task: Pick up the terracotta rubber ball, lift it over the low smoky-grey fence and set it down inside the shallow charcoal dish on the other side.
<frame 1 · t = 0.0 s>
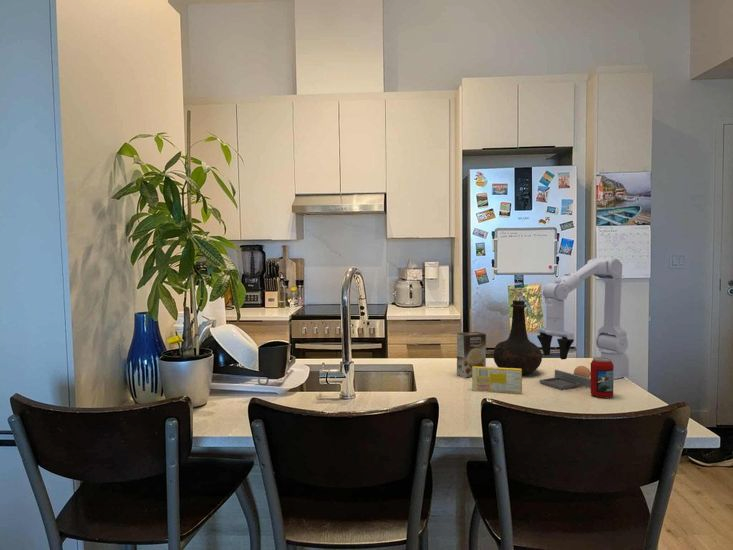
hand: (555, 357, 180), 10 cm above the countertop, tool pointing down, fingers open, 7 cm apart
ball: (582, 373, 186), point 3 cm above the countertop
beverage can: (601, 396, 167), on the countertop
candy box: (496, 392, 174), on the countertop
coffee box: (471, 376, 197), on the countertop
glass bottle: (517, 373, 200), on the countertop
low fence: (572, 382, 184), on the countertop
charcoal dish: (560, 384, 181), on the countertop
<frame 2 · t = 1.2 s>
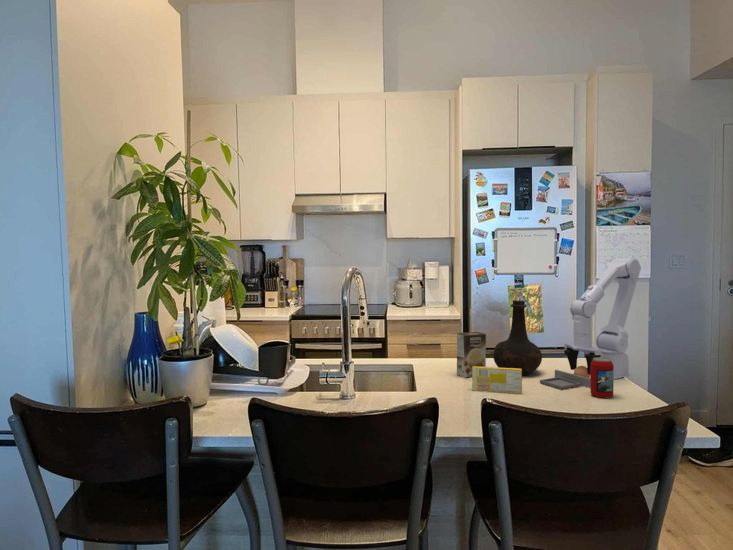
hand: (581, 371, 186), 3 cm above the countertop, tool pointing down, fingers open, 7 cm apart
nothing on the countertop moved.
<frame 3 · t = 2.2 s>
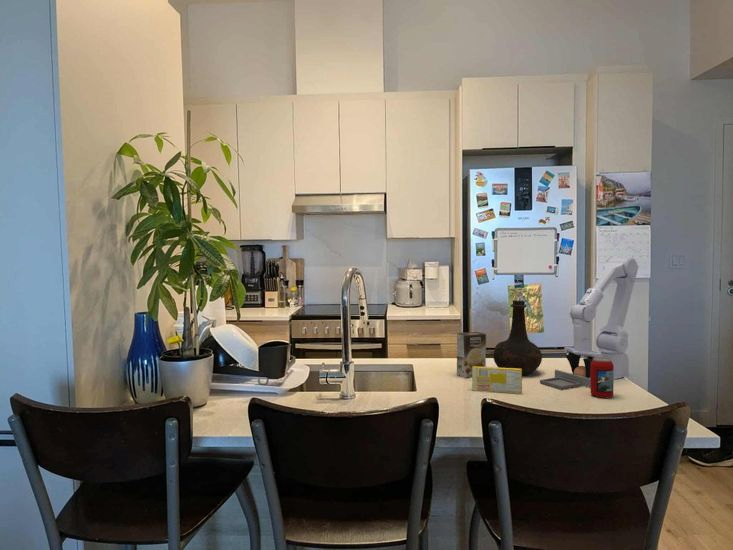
hand: (582, 375, 186), 2 cm above the countertop, tool pointing down, fingers closed on ball, 5 cm apart
ball: (582, 373, 186), point 3 cm above the countertop, touching gripper
everything else where it was.
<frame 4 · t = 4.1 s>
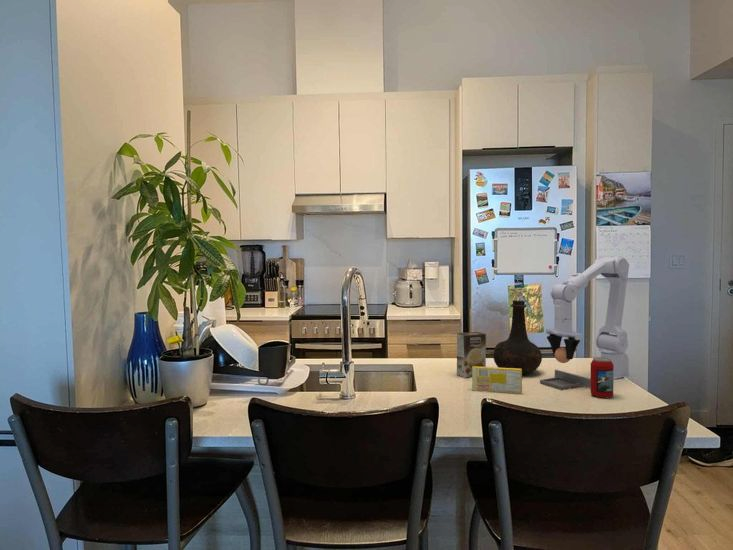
hand: (562, 357, 181), 10 cm above the countertop, tool pointing down, fingers closed on ball, 5 cm apart
ball: (563, 355, 181), point 10 cm above the countertop, touching gripper
everything else where it was.
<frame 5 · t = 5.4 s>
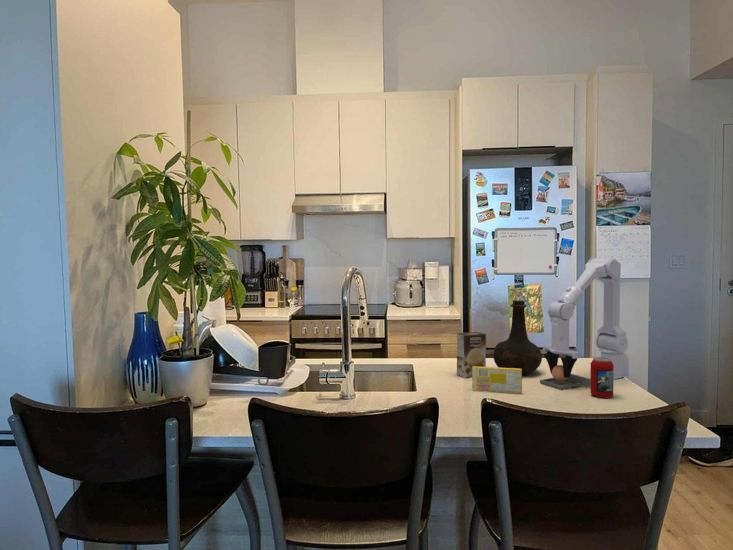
hand: (560, 375, 181), 3 cm above the countertop, tool pointing down, fingers closed on ball, 5 cm apart
ball: (560, 372, 181), point 4 cm above the countertop, touching gripper
everything else where it was.
when the fingers open (3 cm above the countertop, at t = 6.4 s): ball moves 1 cm, resting on charcoal dish.
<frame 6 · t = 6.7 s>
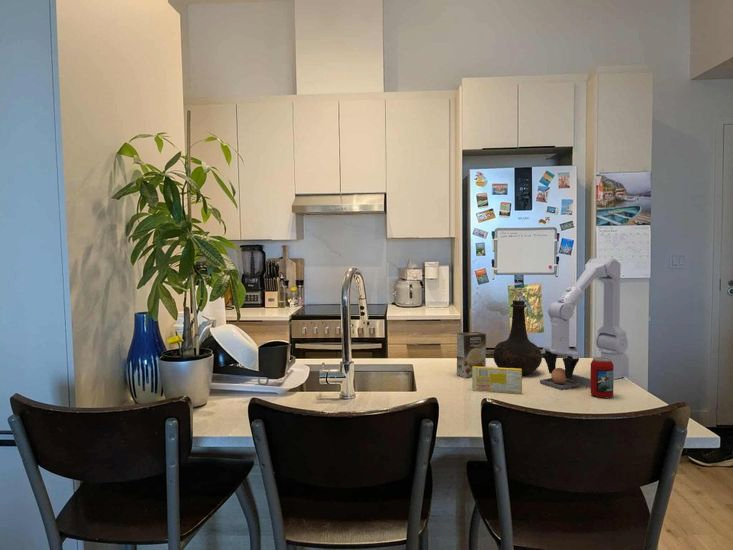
hand: (560, 375, 181), 3 cm above the countertop, tool pointing down, fingers open, 7 cm apart
ball: (559, 375, 181), point 3 cm above the countertop, tilted 7°, touching charcoal dish
everything else where it was.
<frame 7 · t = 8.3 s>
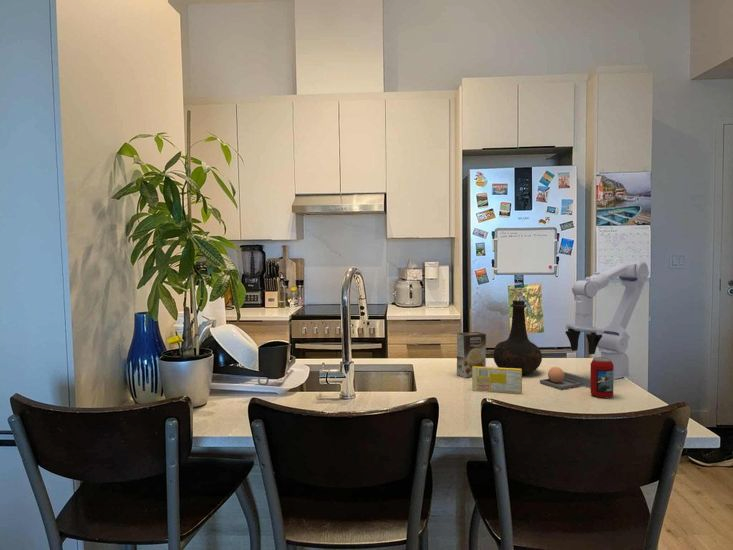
hand: (583, 352, 185), 10 cm above the countertop, tool pointing down, fingers open, 7 cm apart
ball: (556, 374, 183), point 3 cm above the countertop, tilted 40°, touching charcoal dish
everything else where it was.
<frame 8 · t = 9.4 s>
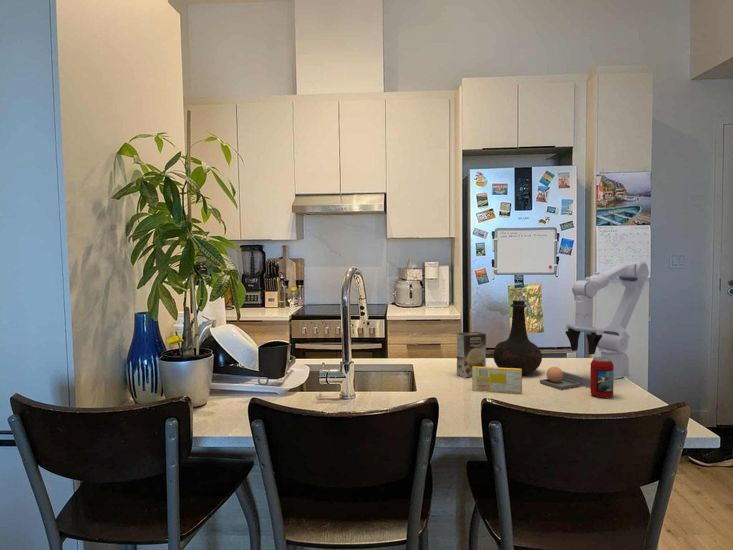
hand: (583, 352, 185), 10 cm above the countertop, tool pointing down, fingers open, 7 cm apart
ball: (554, 374, 183), point 3 cm above the countertop, tilted 53°, touching charcoal dish
everything else where it was.
at the end: ball 2.5 cm off-centre on the charcoal dish, point 3.1 cm above the charcoal dish's base; ball moved 10.8 cm from its start; the gripper is holding nothing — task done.
